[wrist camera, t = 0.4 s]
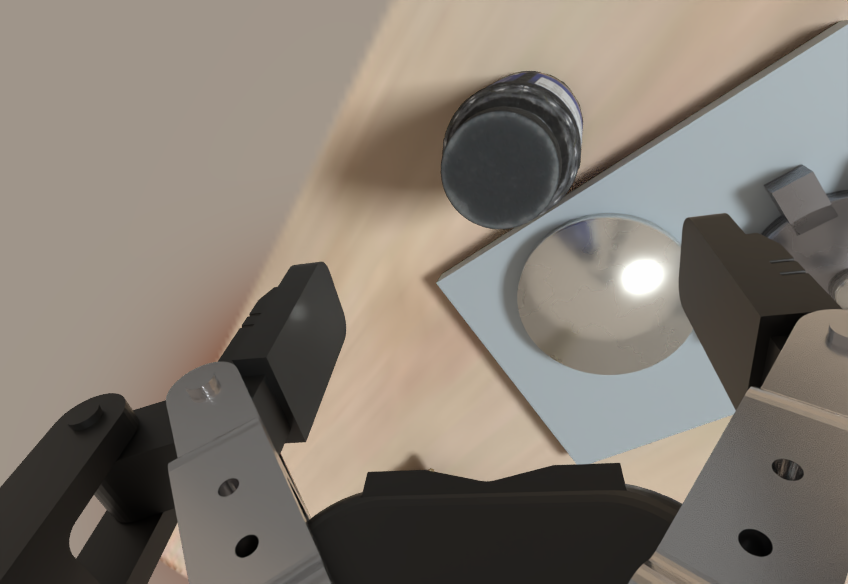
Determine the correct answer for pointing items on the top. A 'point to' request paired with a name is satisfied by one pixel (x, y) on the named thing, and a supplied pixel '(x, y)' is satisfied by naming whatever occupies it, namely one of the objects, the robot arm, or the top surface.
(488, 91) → the pill bottle
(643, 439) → the gear board
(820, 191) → the gear
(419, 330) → the top surface
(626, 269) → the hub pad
